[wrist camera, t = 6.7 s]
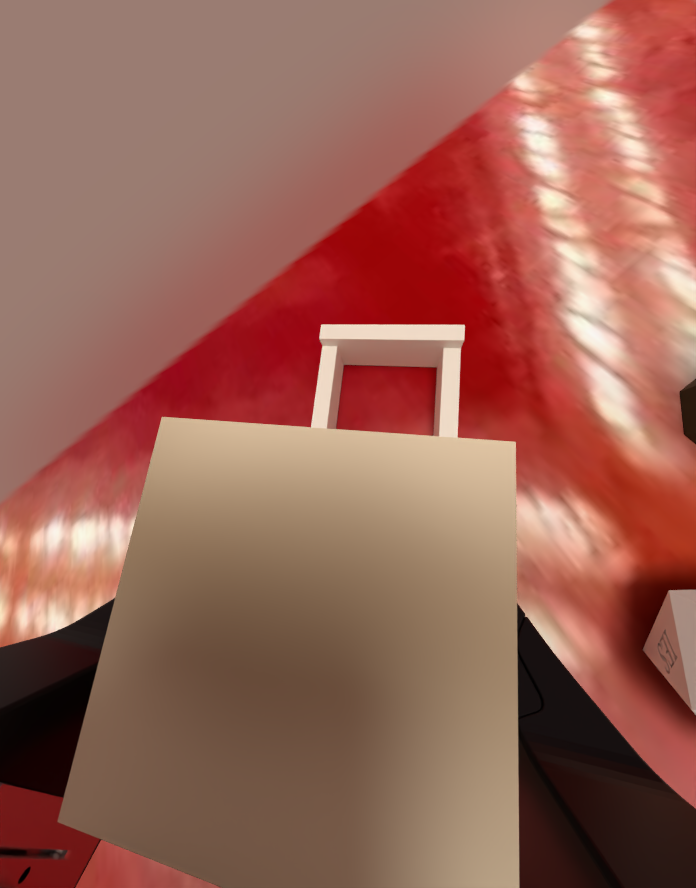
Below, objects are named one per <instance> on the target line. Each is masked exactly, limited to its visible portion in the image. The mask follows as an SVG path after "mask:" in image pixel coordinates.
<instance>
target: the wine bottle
mask: <svg viewBox="0 0 696 888" xmlns="http://www.w3.org/2000/svg"><path fill="white" fill-rule="evenodd" d="M680 397H681V407H682V416H683V426H684V434H685V435H686V436H687V437H688V438H690V439H691V440H692V441H693V442H694V443H696V379H695V380H694V381H693V382H691V383H690V384H689V385H688V386H686V387H685V388H684V389H683V390H681V391H680Z"/></svg>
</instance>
